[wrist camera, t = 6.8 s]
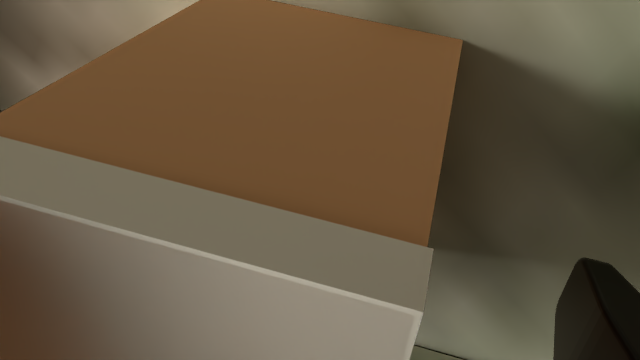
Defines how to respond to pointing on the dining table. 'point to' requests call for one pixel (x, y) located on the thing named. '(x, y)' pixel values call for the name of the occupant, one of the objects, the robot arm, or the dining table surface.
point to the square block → (227, 191)
